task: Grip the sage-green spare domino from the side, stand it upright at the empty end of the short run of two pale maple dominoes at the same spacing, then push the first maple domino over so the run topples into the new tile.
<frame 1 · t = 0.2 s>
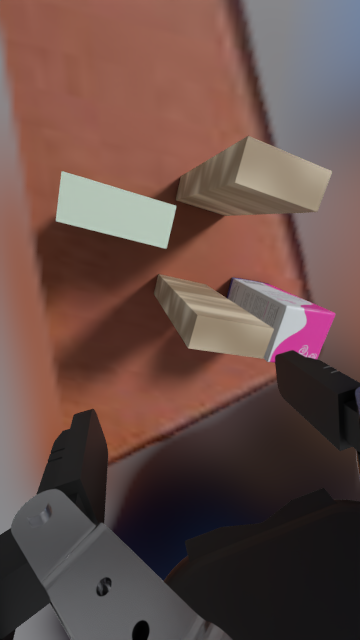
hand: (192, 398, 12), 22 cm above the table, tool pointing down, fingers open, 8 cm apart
tile 2: (180, 289, 33), on the table
tile 1: (204, 196, 30), on the table
supplement box: (244, 302, 36), on the table
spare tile: (113, 216, 28), on the table
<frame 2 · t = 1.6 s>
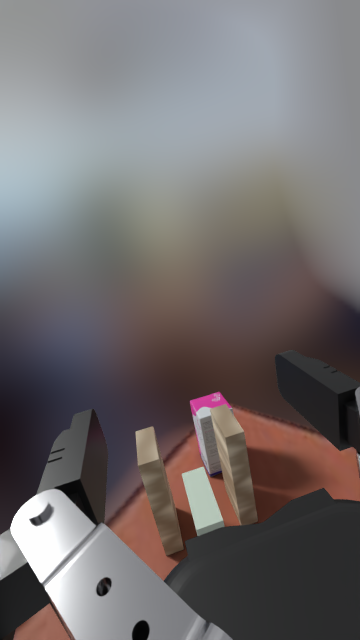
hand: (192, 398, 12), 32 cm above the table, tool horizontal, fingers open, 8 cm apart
tile 2: (240, 504, 40), on the table
tile 1: (171, 529, 38), on the table
supplement box: (220, 459, 48), on the table
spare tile: (223, 595, 31), on the table
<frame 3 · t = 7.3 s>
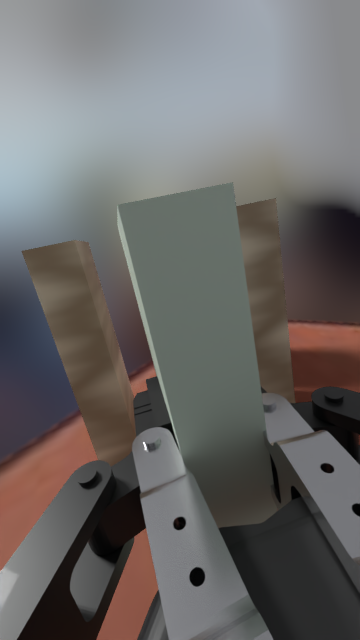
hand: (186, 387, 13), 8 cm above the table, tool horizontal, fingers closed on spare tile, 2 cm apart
tile 2: (260, 411, 21), on the table
tile 1: (128, 454, 20), on the table
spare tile: (230, 551, 13), on the table, touching gripper
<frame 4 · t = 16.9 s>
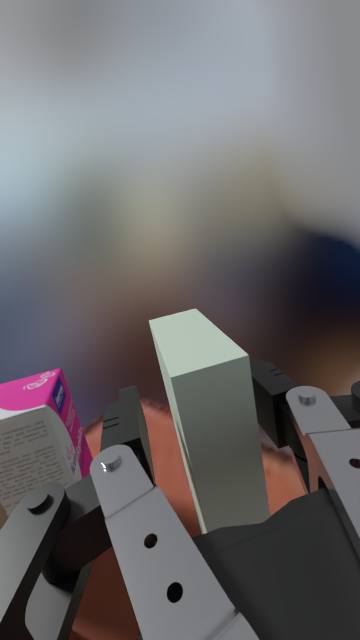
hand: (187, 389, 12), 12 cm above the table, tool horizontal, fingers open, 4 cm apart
supplement box: (65, 529, 21), on the table
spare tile: (236, 578, 15), on the table
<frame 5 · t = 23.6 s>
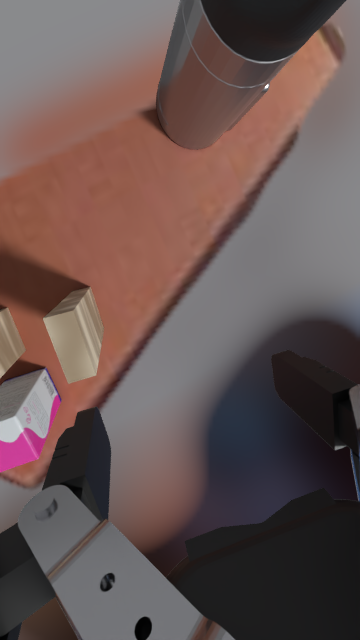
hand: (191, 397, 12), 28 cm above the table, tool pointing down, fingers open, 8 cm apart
tile 2: (7, 331, 36), on the table
tile 1: (88, 310, 37), on the table
supplement box: (34, 390, 38), on the table
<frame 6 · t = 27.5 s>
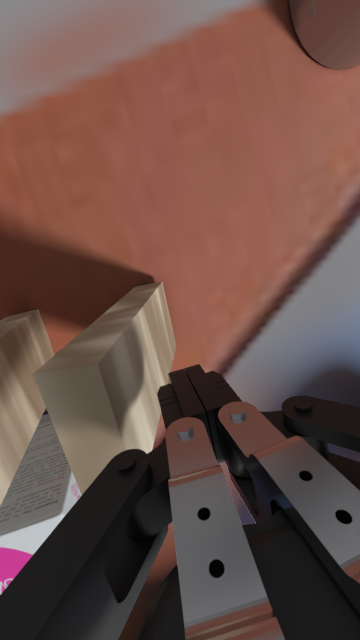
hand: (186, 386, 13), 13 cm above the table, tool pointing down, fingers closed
tile 2: (35, 346, 23), on the table
tile 1: (156, 316, 24), on the table, tilted 17°
supplement box: (69, 431, 26), on the table
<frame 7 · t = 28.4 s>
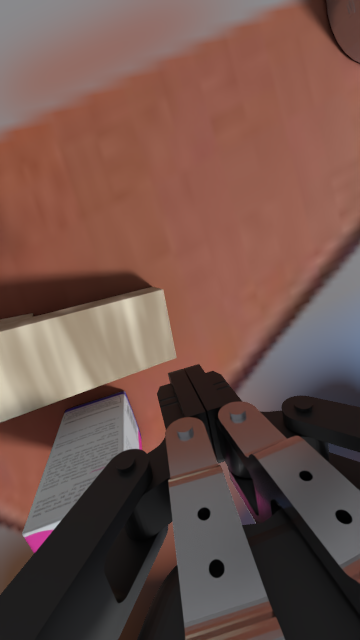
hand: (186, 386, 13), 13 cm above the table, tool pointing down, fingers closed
tile 1: (164, 321, 24), point 1 cm above the table, tilted 76°, touching tile 2
supplement box: (104, 423, 26), on the table
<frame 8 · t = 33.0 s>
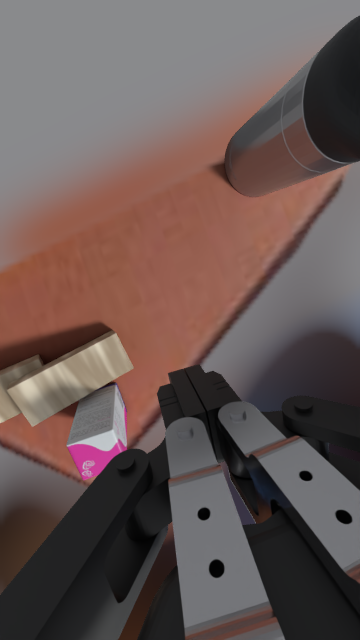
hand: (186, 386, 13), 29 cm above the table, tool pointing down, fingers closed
tile 2: (48, 374, 39), point 1 cm above the table, tilted 75°, touching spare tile
tile 1: (123, 348, 41), point 1 cm above the table, tilted 76°
supplement box: (104, 402, 44), on the table
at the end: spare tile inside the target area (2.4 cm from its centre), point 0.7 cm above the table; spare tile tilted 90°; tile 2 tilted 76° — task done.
